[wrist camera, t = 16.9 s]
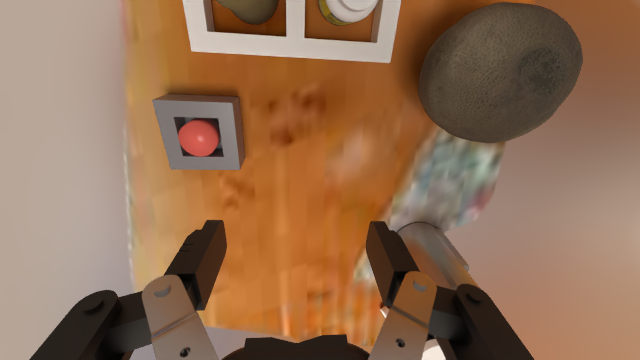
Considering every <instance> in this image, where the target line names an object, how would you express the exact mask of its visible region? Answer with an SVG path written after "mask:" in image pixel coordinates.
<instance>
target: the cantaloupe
mask: <svg viewBox="0 0 640 360" xmlns="http://www.w3.org/2000/svg"><path fill="white" fill-rule="evenodd" d="M582 63H583V56H582V49H581V45H580V42H579V40H578V38H577V36H576V34H575V32H574V31H573V29H572V28H571V26H570V25H569V24H568V23H567V22H566V21H565V20H564V19H563V18H561V17H560V16H559V15H558V14H556V13H555V12H553V11H551V10H549V9H547V8H544V7H541V6H537V5H532V4H523V3H508V2H501V3H495V4H491V5H488V6H484V7H482V8H479V9H477V10H474V11H472V12H470V13H469V14H467V15H466V16H464V17H463V18H461V19H460V20H459V21H458V22H457V23H456V24H454V25H453V26H451V27H450V28H449V29H447V30H446V31H445V32H444V33H443V34H441V35H440V37H439V38H438V39H437V40H436V41H435V42H434V44H433V45H432V46H431V47H430V49H429V50H428V52H427V54H426V56H425V59H424V62H423V65H422V68H421V71H420V77H419V85H418V94H419V98H420V101H421V103H422V105H423V107H424V109H425V111H426V113H427V115H428V116H429V117H430V118H431V119H432V121H434V122H435V123H436V124H437V125H438V126H439V127H441V128H442V129H444V130H445V131H446V132H448V133H450V134H452V135H454V136H456V137H459V138H462V139H466V140H470V141H476V142H483V143H496V142H503V141H508V140H511V139H514V138H517V137H519V136H522V135H524V134H526V133H528V132H530V131H532V130H533V129H535V128H537V127H538V126H540V125H542V124H543V123H544V122H546V121H547V120H548V119H549V118H550V117H551V116H552V115H553V114H554V112H555V111H556V110H557V108H558V107H559V106H560V105H561V104H562V103H563V102H564V100H565V99H566V98H567V97H568V95H569V94H570V92H571V91H572V89H573V88H574V86H575V83H576V81H577V78H578V76H579V73H580V70H581V66H582Z"/></svg>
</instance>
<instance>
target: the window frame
mask: <svg viewBox="0 0 640 360" xmlns="http://www.w3.org/2000/svg"><path fill="white" fill-rule="evenodd" d="M183 5H184V11H185V16H186V22H187V28H188V34H189V39H190V45H191V51H196V52H213V53H229V54H246V55H263V56H280V57H297V58H314V59H331V60H348V61H365V62H382V63H390V61H391V55H392V50H393V44H394V38H395V33H396V27H397V22H398V16H399V10H400V5H401V0H378V2H377V4H376V6H375V11H374V18H373V25H372V33H371V40H370V43H369V42H354V41H339V40H324V39H310V38H304V30H305V0H286V37H280V36H265V35H251V34H236V33H221V32H215V28H214V20H213V12H212V5H211V0H183Z"/></svg>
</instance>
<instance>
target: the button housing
mask: <svg viewBox="0 0 640 360" xmlns="http://www.w3.org/2000/svg"><path fill="white" fill-rule="evenodd" d="M152 101H153V105H154V109H155V112H156V116H157V120H158V123H159V127H160V131H161V135H162V138H163V142H164V146H165V149H166V153H167V157H168V161H169V164H170V168H171V169H194V170H240V169H241V166H242V164H243V162H244V159H245V152H244V143H243V133H242V123H241V113H240V103H239V97H234V96H209V95H185V94H166V95H163V96H161V97H158V98H156V99H153V100H152ZM195 117H196V118H211V119H213V120H214V121H216V122H217V123H218V125H219V127H220V134H221V142H220V143H219V144H218V146H217V147H216V148H215V150H214V151H213V152H212V153H211V154H209V155H207V156H202V157H200V156H195V155H192V154H190V153H188V152H187V151H186V150H185V149H184V148H183V147H182V146H181V144H180V142H179V138H178V135H179V131H180V129H181V128H182V127H183V126H184V125H185V124H187V123H188V122H189V121H191V120H192V119H194V118H195Z"/></svg>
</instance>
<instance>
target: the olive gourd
mask: <svg viewBox="0 0 640 360" xmlns="http://www.w3.org/2000/svg"><path fill="white" fill-rule="evenodd" d="M216 1H217V2H219V3H220V4H221V5H222V6H224V7H226V8H229V9H231V10H232V12H233V13H234V14H235V15H236V16H237V17H238V18H239V19H241V20H242V21H244V22H246V23H249V24H258V25H259V24H261V23H264V22H266V21H268V20H269V19H270V18H271V17H272V16H273V14H274V13H275V11H276V9H277V5H278V0H216Z"/></svg>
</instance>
